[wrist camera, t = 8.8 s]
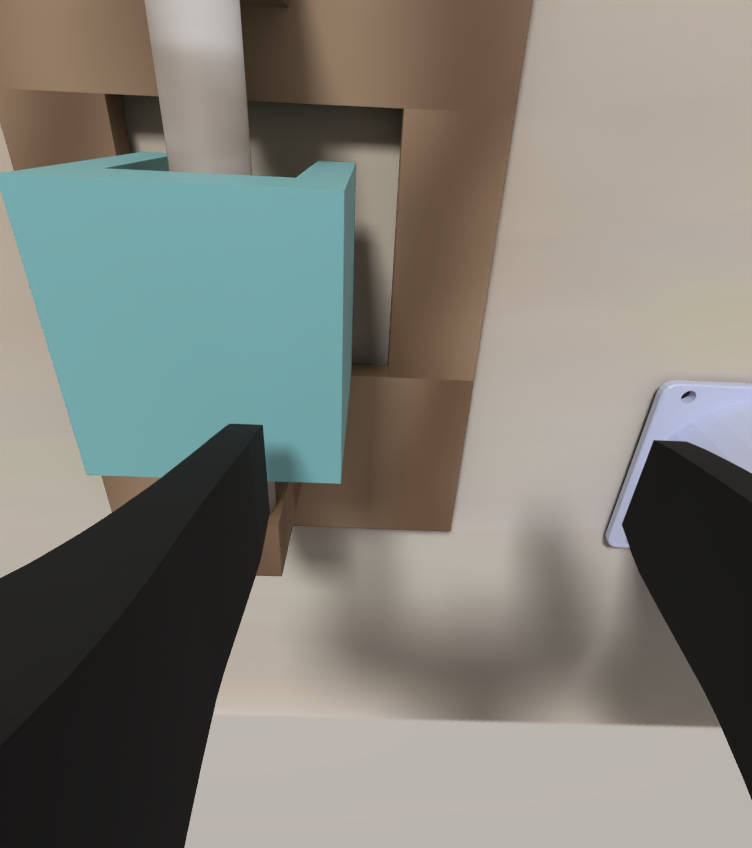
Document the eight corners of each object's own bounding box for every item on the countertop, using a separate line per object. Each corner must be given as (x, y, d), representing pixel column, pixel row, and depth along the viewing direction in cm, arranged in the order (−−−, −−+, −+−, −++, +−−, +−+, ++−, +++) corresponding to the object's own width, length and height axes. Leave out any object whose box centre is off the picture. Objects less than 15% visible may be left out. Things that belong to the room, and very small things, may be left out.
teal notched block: (355, 162, 14) (344, 190, 8) (351, 370, 17) (341, 483, 11) (141, 152, 13) (-4, 174, 8) (176, 363, 16) (86, 475, 11)
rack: (562, -263, 11) (747, -644, 6) (447, 515, 22) (470, 647, 17) (-92, -303, 11) (-585, -743, 5) (124, 503, 22) (38, 633, 17)
